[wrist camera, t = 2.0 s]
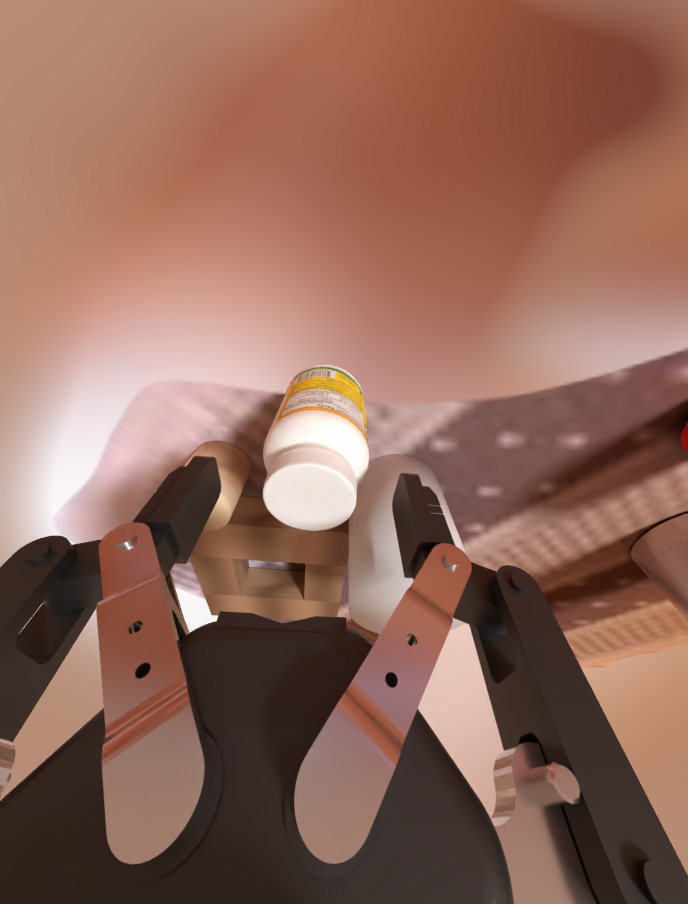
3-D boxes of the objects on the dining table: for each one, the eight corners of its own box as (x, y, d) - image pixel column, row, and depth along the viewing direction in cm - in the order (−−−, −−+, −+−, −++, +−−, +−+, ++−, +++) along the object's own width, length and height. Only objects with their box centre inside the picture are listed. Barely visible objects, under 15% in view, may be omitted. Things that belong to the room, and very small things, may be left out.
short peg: (248, 443, 22) (225, 487, 18) (253, 486, 24) (234, 533, 20) (189, 438, 22) (152, 481, 18) (200, 481, 24) (171, 528, 20)
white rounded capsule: (449, 458, 22) (505, 577, 14) (424, 522, 27) (456, 640, 19) (354, 450, 22) (357, 566, 14) (344, 516, 26) (342, 633, 18)
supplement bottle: (316, 345, 17) (290, 422, 10) (380, 395, 19) (401, 494, 12) (272, 406, 20) (223, 506, 12) (332, 445, 22) (323, 554, 14)
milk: (375, 605, 36) (412, 1096, 15) (467, 590, 34) (662, 1150, 13) (397, 642, 43) (444, 1022, 22) (476, 632, 40) (614, 1048, 19)
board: (351, 504, 26) (351, 533, 23) (336, 594, 35) (335, 622, 32) (194, 492, 25) (176, 520, 22) (222, 587, 34) (211, 615, 32)
